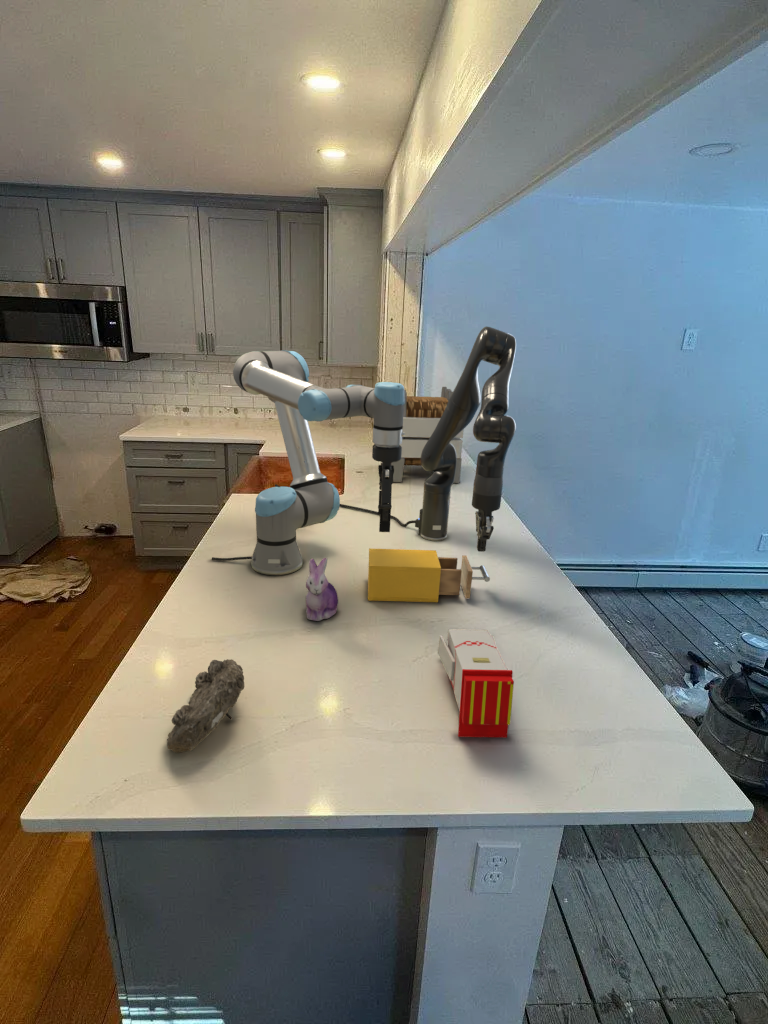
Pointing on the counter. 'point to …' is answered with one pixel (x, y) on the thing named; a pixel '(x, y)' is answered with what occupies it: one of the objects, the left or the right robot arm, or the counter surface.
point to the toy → (478, 682)
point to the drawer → (458, 576)
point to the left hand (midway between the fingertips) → (383, 522)
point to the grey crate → (423, 431)
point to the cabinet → (403, 575)
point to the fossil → (206, 705)
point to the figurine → (320, 593)
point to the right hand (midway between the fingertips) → (480, 550)
